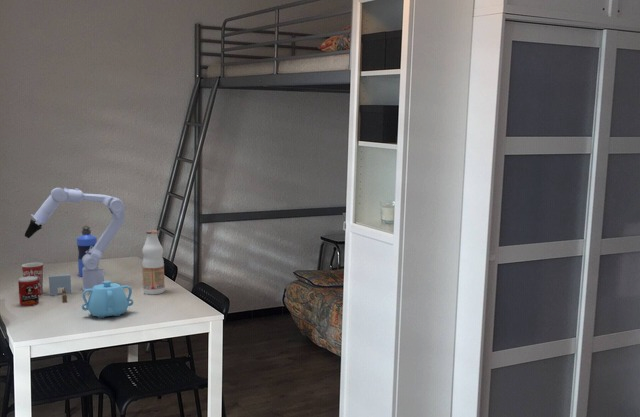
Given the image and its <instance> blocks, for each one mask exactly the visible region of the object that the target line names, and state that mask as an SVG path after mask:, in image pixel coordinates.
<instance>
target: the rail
mask: <svg viewBox="0 0 640 417" xmlns="http://www.w3.org/2000/svg"><path fill="white" fill-rule="evenodd" d="M61 292H62V293H61V297H62V303H68V301H67V298H68V297H67V294H66V289H64V288H63V289H61Z"/></svg>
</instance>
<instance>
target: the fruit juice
mask: <svg viewBox="0 0 640 417" xmlns="http://www.w3.org/2000/svg"><path fill="white" fill-rule="evenodd" d="M145 234H146V238H145V242H144V245H143V247H142V249H141V253H142V256H143V257H142V262H141V264H142V266H141V268H142V288H143V290H142V291H143V293H144V294H145V295H151V296H152V295H159V294H163V293H165V289H166V286H165V263H164V262H165V261H164V258H163V254H164V248H163V246H162V244H161V243H160V240H159V239H160V238H158V234H159V232H158V230H156V229H151V230H149V229H148V230H146V232H145Z"/></svg>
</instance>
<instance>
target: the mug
mask: <svg viewBox="0 0 640 417" xmlns="http://www.w3.org/2000/svg"><path fill="white" fill-rule="evenodd" d="M21 270H22V277H29V276H34V277H37V278H38V291H39V296H41V295H42V294H43V292H44V289H43V286H44V285H43V284H44V263H43V262H28V263H23V264H22V265H21Z"/></svg>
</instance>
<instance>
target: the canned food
mask: <svg viewBox="0 0 640 417" xmlns="http://www.w3.org/2000/svg"><path fill="white" fill-rule="evenodd" d="M17 282H18V284H17V285H18V294H19V295H18V299H19V300H18V301H19V304H20V306H22V307H31V306H36V305H38V304H39V302H40V295H39V291H38V278H37V277H34V276H29V277H23V276H22V277H20V278H19V277H18V280H17Z"/></svg>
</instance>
